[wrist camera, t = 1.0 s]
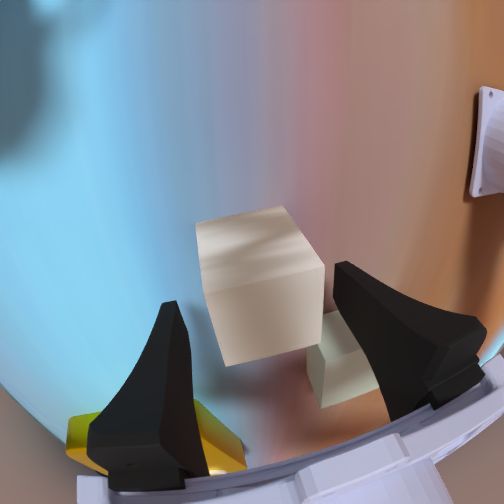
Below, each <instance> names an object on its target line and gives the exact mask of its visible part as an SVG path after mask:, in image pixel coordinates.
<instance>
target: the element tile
mask: <svg viewBox="0 0 504 504" xmlns="http://www.w3.org/2000/svg"><path fill="white" fill-rule="evenodd" d="M194 406H195V412H196V417H197V422H198V427H199V432H200V437H201V441H202V446H203V450H204V454H205V458H206V462H207V465H208V469H209V473H210V476H214V475H220V474H226V473H232V472H237V471H242V470H247V465H246V460H245V456H244V452H243V448H242V444H241V440H240V439H239V438H238V437H237V436H236V435H235V434H233V433H232V432H231V431H230V430H229V429H228V428H227V427H226V426H224V425H223V424H222V423H221V422H220V421H219V420H218V419H217V418H216V417H215V416H214V415H212V414H211V413H210V412H209V411H208V410H207V409H206V408H205V407H204V406H203V405H202V404H201V403H200V402H199V401H197V400H195V399H194ZM100 413H101V412H96V413H91V414H85V415H79V416H74V417H71V418H70V419H69V421H68V430H67V440H66V454H67V455H68V456H69V457H71V458H72V459H74V460H76V461H78V462H80V463H82V464H84V465H86V466H88V467H90V468H92V469H94V470H96V471H99V472H101V473H103V474H105V475H107V476H108V471H107V470H105V469H103V468H102V467H100V466H99V465H97V464H95V463H94V462H93V461H91V460H90V459H89V458H88V456H87V454H86V450H87V434H88V429H89V424H90V423H91V422H92V421H93V420H94V419H95V418H96V417H97V416H98V415H99V414H100Z"/></svg>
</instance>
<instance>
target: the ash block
mask: <svg viewBox="0 0 504 504" xmlns="http://www.w3.org/2000/svg"><path fill="white" fill-rule="evenodd" d="M195 226H196V235H197V244H198V253H199V261H200V269H201V277H202V285H203V292H204V297H205V300H206V304H207V307H208V310H209V314H210V317H211V321H212V324H213V327H214V331H215V334H216V337H217V340H218V344H219V347H220V350H221V353H222V356H223V359H224V363H225V366H226V367H227V366H232V365H236V364H241V363H245V362H249V361H254V360H258V359H262V358H266V357H270V356H274V355H278V354H282V353H286V352H290V351H293V350H297V349H301V348H304V347H308V346H311V345H315V344H318V343H321V333H322V317H323V299H324V275H325V266H324V264H323V263H322V261H321V260H320V258H319V257H318V255H317V254H316V252H315V251H314V250H313V248H312V247H311V245H310V244H309V242H308V241H307V239H306V238H305V237H304V235H303V234H302V232H301V231H300V229H299V228H298V227H297V225H296V224H295V222H294V221H293V220H292V218H291V217H290V215H289V214H288V213H287V211H286V210H285V208H284V207H283V206H277V207H272V208H267V209H262V210H257V211H252V212H247V213H242V214H237V215H232V216H227V217H222V218H217V219H212V220H208V221H203V222H198V223H195Z"/></svg>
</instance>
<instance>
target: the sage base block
mask: <svg viewBox="0 0 504 504" xmlns="http://www.w3.org/2000/svg"><path fill="white" fill-rule="evenodd" d="M306 351H307V375H308V378H309V380H310V383H311V385H312V388H313V390H314V393H315V395H316V398H317V400H318V403H319V405H320V408H321V409H323V408H326V407H329V406H332V405H334V404H337V403H340V402H343V401H346V400H348V399H351V398H354V397H356V396H359V395H362V394H364V393H367V392H369V391H372V390H374V389H377V388H379V385H378V382H377V380H376V378H375V375H374V373H373V370H372V368H371V366H370V364H369V362H368V359H367V357H366V355H365V354H364V352H363V350H362V348H361V347H360V345H359V343H358V342H357V340H356V339H355V337H354V335H353V334H352V332H351V331H350V329H349V327H348V326H347V324H346V323H345V321H344V319H343V318H342V316H341V314H340V312H339V310H336V311H333V312H330V313H326V314H323V317H322V333H321V343H318V344H315V345H311V346H308V347H306Z"/></svg>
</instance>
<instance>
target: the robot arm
mask: <svg viewBox="0 0 504 504" xmlns="http://www.w3.org/2000/svg"><path fill="white" fill-rule="evenodd" d="M501 192H502V193H504V91H502V90H498V89H494V88H490V87H485V86H482V87H480V90H479V109H478V126H477V137H476V147H475V156H474V163H473V170H472V177H471V183H470V189H469V193H470V195H471V196H472V197H480V196H485V195H490V194H495V193H501ZM333 299H334V301H335V303H336V306H337V308H338V310H339V312H340V314H341V316H342V318H343V319H344V321H345V323H346V324H347V326H348V327H349V329H350V331H351V332H352V334H353V335H354V337H355V339H356V340H357V342H358V343H359V345H360V347H361V348H362V350H363V352H364V354H365V355H366V357H367V359H368V362H369V364H370V366H371V368H372V370H373V373H374V375H375V378H376V380H377V382H378V385H379V387H380V390H381V393H382V396H383V398H384V401H385V404H386V407H387V410H388V413H389V417H390V420H391V423H389V424H386V425H384V426H382V427H380V428H377V429H375V430H373V431H370V432H368V433H366V434H363V435H361V436H358V437H356V438H353V439H350V440H348V441H345V442H342V443H340V444H337V445H334V446H331V447H328V448H325V449H322V450H319V451H316V452H313V453H310V454H306V455H303V456H300V457H296V458H293V459H289V460H285V461H282V462H278V463H274V464H270V465H266V466H261V467H257V468H252V469H247V470H242V471H237V472H232V473H226V474H220V475H214V476H210V473H209V469H208V465H207V462H206V458H205V454H204V450H203V446H202V441H201V437H200V432H199V427H198V422H197V417H196V412H195V406H194V398H193V384H192V362H191V348H190V342H189V335H188V331H187V328H186V326H185V323H184V320H183V318H182V315H181V312H180V310H179V307H178V304H177V302H176V300H175V301H170V302H165V303H162V305H161V307H160V310H159V313H158V316H157V319H156V321H155V324H154V327H153V329H152V331H151V334H150V336H149V339H148V341H147V343H146V345H145V347H144V350H143V352H142V354H141V356H140V358H139V360H138V362H137V363H136V365H135V367H134V369H133V370H132V372H131V374H130V375H129V377H128V378H127V380H126V381H125V383H124V385H123V386H122V387H121V389H120V390H119V392H118V393H117V394H116V395H115V397H114V398H113V399H112V400H111V402H110V403H109V404H108V405H107V406H106V408H105V409H104V410H103V411H102V412H101V413H100V414H99V415H98V416H97V417H96V418H95V419H94V420H93V421H92V422H91V423H90V424H89V429H88V434H87V450H86V454H87V456H88V458H89V459H90V460H91V461H93V462H94V463H95V464H97V465H99V466H100V467H102V468H103V469H105V470H107V471H108V478H106V477H101V476H82V475H79V476H77V504H454V503H453V501H452V499H451V497H450V495H449V493H448V491H447V489H446V487H445V485H444V483H443V481H442V479H441V477H440V475H439V473H438V471H437V469H436V467H435V465H434V464H435V463H437V462H438V461H440V460H442V459H443V458H445V457H446V456H447V455H449V454H451V453H452V452H453V451H455V450H456V449H458V448H459V447H461V446H462V445H463V444H465V443H466V442H468V441H469V440H470V439H472V438H473V437H474V436H476V435H477V434H478V433H480V432H481V431H482V430H483V429H485V428H486V427H487V426H489V425H490V424H491V423H492V422H494V421H495V420H496V419H497V418H499V417H500V416H501V415H502V414H503V413H504V359H503V357H502V356H501V355H500V354H497V355H496V356H494V357H493V358H492V359H490V360H489V361H487V362H486V363H485V364H484V365H483V366H482V367H480V366H479V365H478V362H479V358H478V357H477V355H476V354H477V352H478V351H479V349H480V347H481V345H482V344H483V342H484V340H485V338H486V334H487V330H486V328H485V327H484V326H483V325H482V323H481V322H480V321H479V320H478V319H477V318H476V317H474V316H468V315H463V314H457V313H453V312H449V311H445V310H442V309H439V308H436V307H433V306H430V305H427V304H424V303H422V302H419V301H417V300H415V299H412V298H410V297H408V296H406V295H404V294H402V293H400V292H398V291H396V290H394V289H392V288H391V287H389V286H387V285H385V284H384V283H382V282H380V281H379V280H377V279H375V278H374V277H372V276H370V275H369V274H367V273H366V272H364V271H363V270H361V269H359V268H358V267H356V266H355V265H353V264H351V263H350V262H348V261H344V262H340V263H336V264H335V270H334V287H333Z"/></svg>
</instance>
